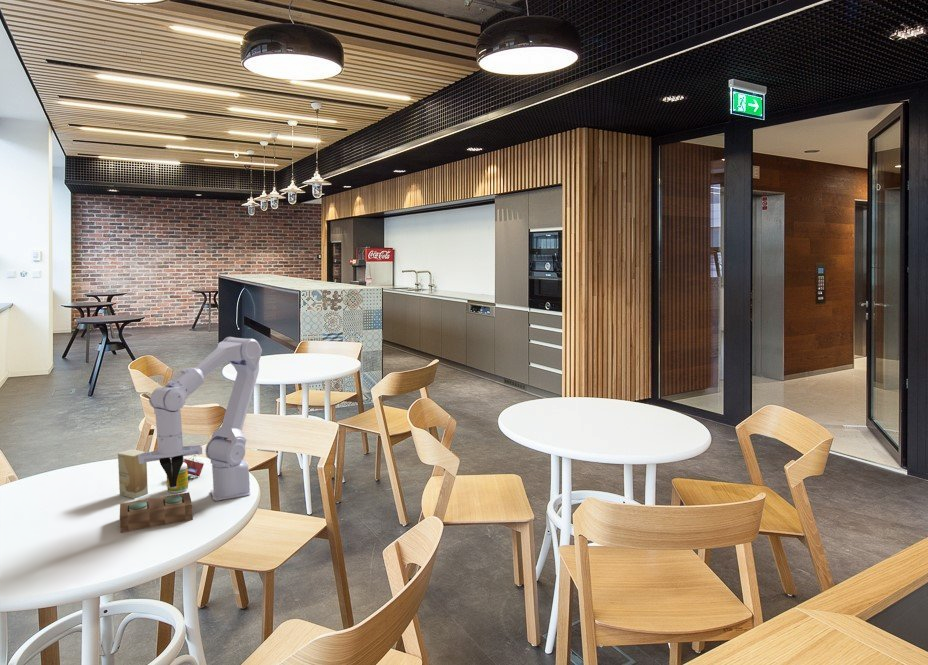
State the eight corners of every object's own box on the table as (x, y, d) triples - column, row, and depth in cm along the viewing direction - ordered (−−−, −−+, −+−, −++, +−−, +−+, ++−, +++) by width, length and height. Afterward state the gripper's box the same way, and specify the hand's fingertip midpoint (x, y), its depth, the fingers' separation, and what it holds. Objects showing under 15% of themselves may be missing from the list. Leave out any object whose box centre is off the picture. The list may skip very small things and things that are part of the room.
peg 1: (147, 515, 157) (146, 500, 156) (148, 521, 153) (147, 506, 153) (130, 518, 155) (129, 503, 154) (130, 525, 151) (128, 509, 151)
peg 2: (182, 509, 160) (181, 495, 160) (183, 515, 157) (182, 500, 156) (165, 512, 159) (164, 497, 158) (166, 518, 155) (165, 503, 155)
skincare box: (119, 495, 171) (116, 453, 170) (132, 490, 175) (129, 448, 174) (135, 499, 169) (133, 455, 167) (149, 493, 173) (146, 451, 171)
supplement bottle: (180, 494, 172) (178, 460, 171) (163, 492, 173) (161, 459, 172) (192, 487, 177) (190, 454, 176) (175, 485, 179) (173, 453, 177)
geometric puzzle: (210, 465, 190) (192, 446, 188) (207, 472, 183) (189, 453, 181) (191, 480, 189) (172, 461, 187) (187, 488, 182) (168, 469, 180)
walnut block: (190, 506, 164) (189, 492, 163) (192, 519, 156) (192, 504, 155) (121, 518, 156) (120, 503, 156) (120, 532, 148) (119, 516, 148)
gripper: (198, 425, 162) (201, 475, 164) (136, 434, 155) (139, 485, 157) (202, 432, 156) (205, 483, 158) (137, 441, 149) (141, 495, 151)
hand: (172, 485), depth 157 cm, fingers closed
